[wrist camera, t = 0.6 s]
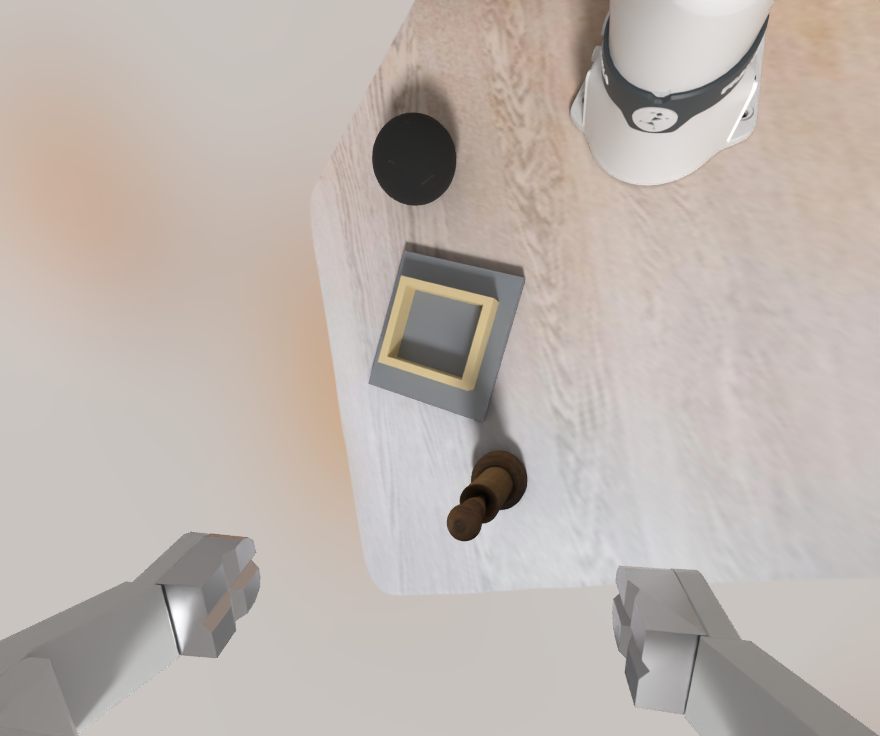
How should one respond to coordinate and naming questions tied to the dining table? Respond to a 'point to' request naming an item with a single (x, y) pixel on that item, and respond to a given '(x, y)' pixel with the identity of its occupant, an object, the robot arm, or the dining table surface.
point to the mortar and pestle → (487, 494)
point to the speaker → (414, 159)
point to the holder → (446, 333)
